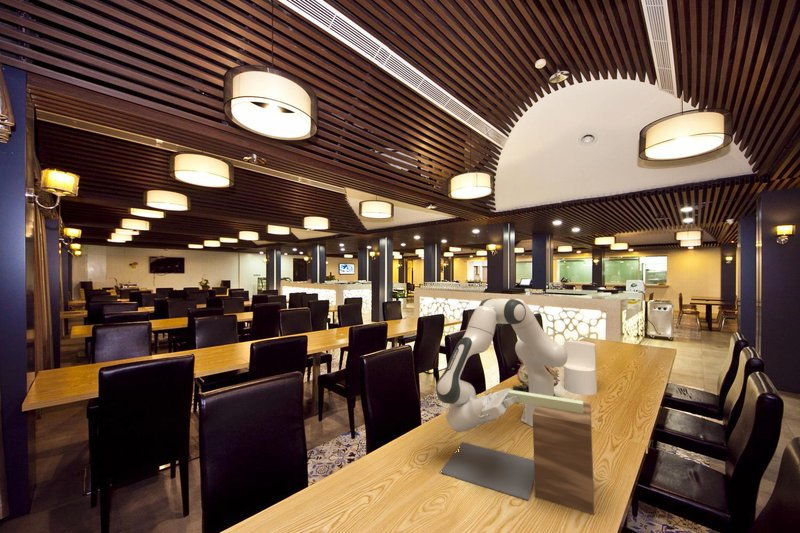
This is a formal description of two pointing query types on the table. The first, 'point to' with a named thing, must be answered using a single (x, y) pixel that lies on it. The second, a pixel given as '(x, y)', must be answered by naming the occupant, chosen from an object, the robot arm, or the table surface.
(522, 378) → the rose bouquet
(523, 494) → the mat
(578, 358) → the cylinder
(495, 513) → the table surface
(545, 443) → the wooden pedestal block
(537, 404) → the stick
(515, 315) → the robot arm
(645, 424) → the table surface
